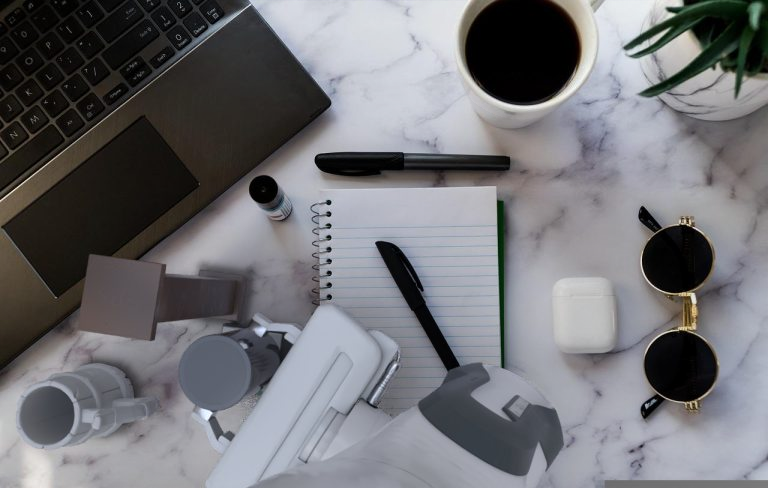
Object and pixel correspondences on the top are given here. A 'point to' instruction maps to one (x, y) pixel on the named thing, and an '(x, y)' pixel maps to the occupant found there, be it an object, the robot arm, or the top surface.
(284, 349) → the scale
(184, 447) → the top surface
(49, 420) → the mug
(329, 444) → the robot arm
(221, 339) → the grey cylinder
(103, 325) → the stand
